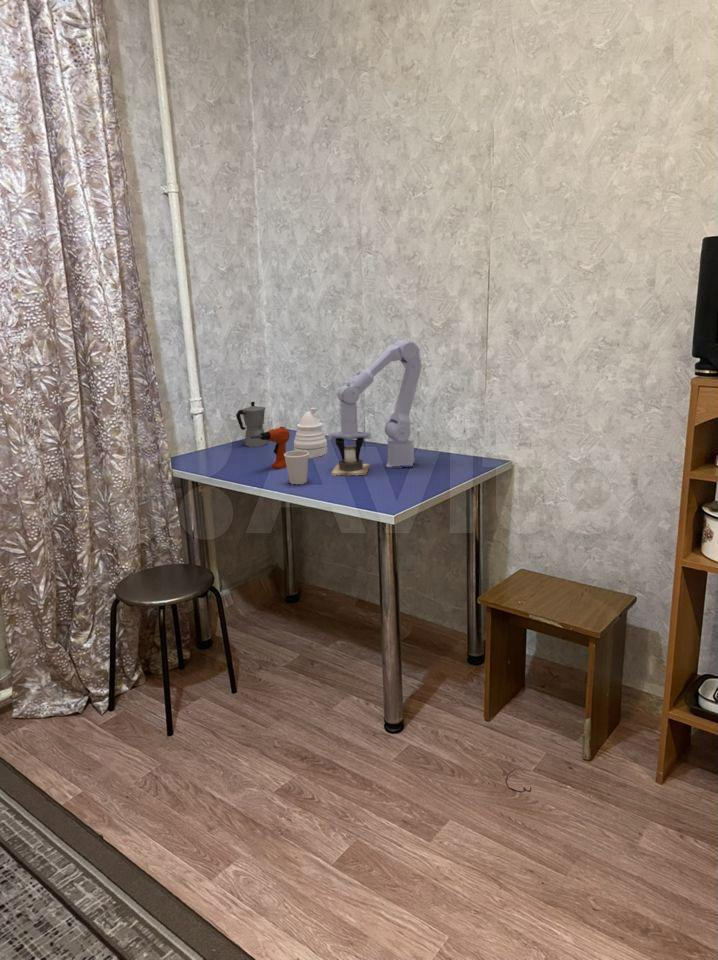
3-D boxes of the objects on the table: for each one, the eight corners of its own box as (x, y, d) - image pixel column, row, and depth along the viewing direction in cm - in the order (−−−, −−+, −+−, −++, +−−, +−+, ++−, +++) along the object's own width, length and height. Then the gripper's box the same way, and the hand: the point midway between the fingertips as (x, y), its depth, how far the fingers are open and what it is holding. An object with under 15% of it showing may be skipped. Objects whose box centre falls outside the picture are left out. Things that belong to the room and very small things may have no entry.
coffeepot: (260, 440, 299) (257, 398, 294) (275, 443, 293) (272, 400, 288) (232, 447, 288) (228, 404, 283) (246, 450, 282) (243, 406, 277)
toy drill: (245, 470, 245) (246, 428, 243) (283, 465, 260) (284, 425, 257) (255, 472, 242) (255, 429, 240) (293, 467, 257) (294, 426, 254)
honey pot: (329, 450, 277) (327, 405, 272) (324, 458, 265) (322, 411, 260) (297, 450, 279) (295, 405, 274) (291, 458, 266) (288, 411, 261)
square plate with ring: (369, 466, 251) (369, 457, 250) (366, 475, 239) (365, 465, 238) (336, 466, 252) (336, 457, 251) (331, 475, 241) (331, 465, 240)
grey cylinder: (357, 462, 247) (356, 445, 245) (356, 465, 242) (355, 448, 241) (345, 462, 247) (344, 445, 245) (343, 465, 243) (343, 448, 241)
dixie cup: (306, 486, 229) (304, 456, 227) (282, 485, 231) (280, 456, 229) (313, 479, 237) (312, 450, 234) (290, 478, 239) (288, 450, 236)
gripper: (326, 423, 238) (328, 462, 242) (368, 422, 236) (370, 461, 240) (329, 419, 245) (331, 457, 248) (371, 418, 243) (372, 456, 246)
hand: (350, 459), depth 244 cm, fingers closed on grey cylinder, 4 cm apart
